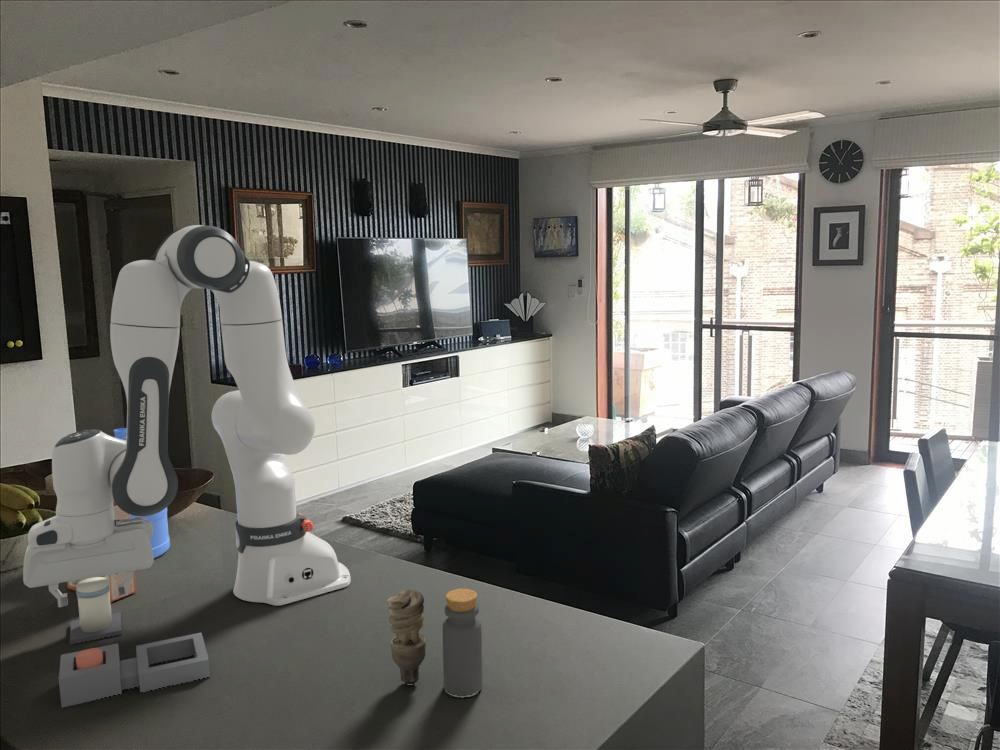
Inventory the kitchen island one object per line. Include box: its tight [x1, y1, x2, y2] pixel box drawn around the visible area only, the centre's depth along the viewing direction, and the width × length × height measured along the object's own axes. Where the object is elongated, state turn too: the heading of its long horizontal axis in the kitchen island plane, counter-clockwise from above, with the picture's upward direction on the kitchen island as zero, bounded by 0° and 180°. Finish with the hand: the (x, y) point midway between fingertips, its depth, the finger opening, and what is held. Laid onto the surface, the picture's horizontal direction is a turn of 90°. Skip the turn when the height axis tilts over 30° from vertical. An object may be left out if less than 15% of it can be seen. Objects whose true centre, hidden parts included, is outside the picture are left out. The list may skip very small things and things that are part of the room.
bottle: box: [442, 588, 483, 696], centre depth 121 cm, size 6×6×15 cm
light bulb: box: [386, 589, 427, 685], centre depth 122 cm, size 6×6×15 cm
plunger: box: [76, 647, 103, 670], centre depth 122 cm, size 4×4×5 cm
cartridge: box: [75, 577, 112, 632], centre depth 141 cm, size 5×5×8 cm
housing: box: [58, 632, 211, 709], centre depth 125 cm, size 20×10×4 cm, turn 116°
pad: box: [69, 611, 123, 645], centre depth 142 cm, size 8×8×1 cm
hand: (93, 599), depth 141 cm, fingers open, 8 cm apart
